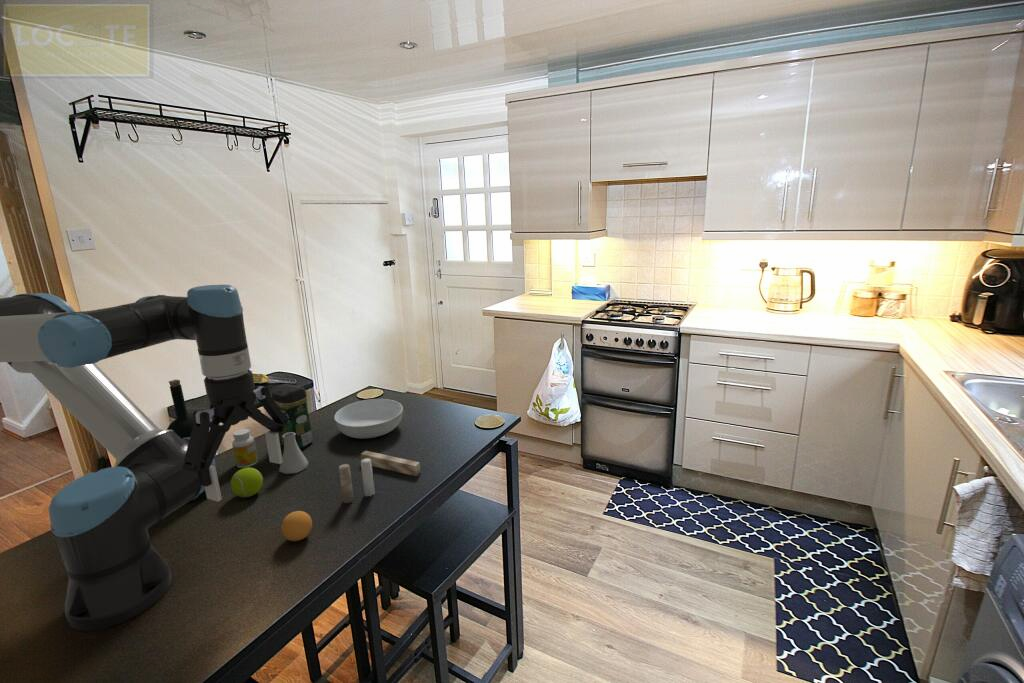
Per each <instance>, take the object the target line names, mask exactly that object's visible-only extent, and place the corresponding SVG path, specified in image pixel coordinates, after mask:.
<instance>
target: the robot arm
mask: <svg viewBox="0 0 1024 683" xmlns="http://www.w3.org/2000/svg"><path fill="white" fill-rule="evenodd" d="M186 292H187V293H186V296H176V295H174V296H171V295H166V294H157V295H147V296H143V297H141V298H138V299H137V300H136V301H135V302H131V303H126V304H125V303H124V304H119V305H117V306H111V307H105V308H100V309H94V310H86V311H76V310H75V309H74V307H73V306H71V305H70V304H69V303H68V302H67V301H65V300H64V299H62V298H61V297H59V296H57V295H54V294H50V293H45V292H38V293H37V292H36V293H19V294H15V295H12V296H8V297H0V363H7V365H9V367H11V368H12V369H13V370H14V371H16V372H17V373H21V374H32V375H33V377H35V379H36V380H37V381H38V382H39V383H41V385H43V387H44V388H45V389H46V390H47V391H48V392H49V393H50V394H51V395H52V396H53V397H54V398H55V399H56V400H57V401H58V402H59V403H60V404H61V405H62V406H63V407H64V408H65V409H66V410H67V411H68V412H69V414H71V415H72V416H73V417H74V418H75V419H76V420H77V421H78V423H80V424H81V425H82V427H84V428H85V430H87V431H88V432H89V433H90V434H91V436H93V438H94V439H96V440H97V442H99V444H100V445H101V446H102V447H103V448H104V449H105V450H106V451H108V453H109V454H111V457H112V458H114V459H115V462H114V466H110V467H106V468H105V467H104V468H101V469H99V470H98V471H96V472H93V471H92V472H88V473H86V474H84V475H81V476H80V477H77V478H76V479H73V481H71V482H69V483H67V485H65V486H64V487H62V488H61V489H60V490H59V491H58V492H57V493H55V495H54V496H53V497H52V499H51V501H50V503H49V506H48V515H49V516H48V517H49V521H50V526H49V527H50V530H51V532H52V534H54V538H55V541H56V543H57V546H58V549H59V553H60V555H61V558H62V561H63V563H64V567H65V570H66V573H67V577H68V581H67V582H68V583H67V590H66V596H65V604H64V614H65V618H66V620H67V623H69V624H68V626H70V627H71V628H72V629H74V630H75V631H76V630H77V631H81V630H82V632H87V631H88V632H89V631H90V632H92V631H98V630H103V629H107V628H108V629H109V628H111V627H113V626H116V624H117V625H119V624H122V623H123V622H126V621H129V620H130V619H133V618H135V617H136V616H138V615H140V614H141V613H144V612H145V611H146V610H148V609H149V608H151V607H152V606H153V605H154V604H156V603H158V602H159V600H160V599H161V598H162V597H163V596H164V595H165V594H166V593H167V592H168V590H169V588H170V587H171V585H172V582H173V575H172V571H171V567H170V565H169V563H168V561H166V560H165V559H164V557H163V556H162V555H161V554H160V553H159V552H158V551H157V549H156V548H155V547H154V546H153V545H152V542H151V539H150V535H149V530H148V529H149V528H151V527H152V526H153V525H154V524H157V523H158V522H159V521H161V520H163V519H165V518H166V517H167V516H169V515H170V514H172V513H173V512H174V511H177V510H178V509H180V508H181V507H182V506H184V505H185V504H187V503H189V501H190V500H193V499H195V498H196V497H197V496H198V495H199V494H200V493H202V492H203V491H206V496H207V498H206V499H207V500H210V501H214V502H218V503H219V502H220V501H222V498H223V497H222V493H221V488H220V487H221V486H220V483H219V482H220V481H219V478H218V474H217V468H216V460H215V456H216V454H217V452H218V450H219V448H220V446H221V444H222V442H223V439H224V438H225V435H226V433H227V432H229V431H230V429H231V427H232V426H236V425H237V424H239V423H240V422H242V421H243V422H244V421H246V420H249V418H251V419H252V420H254V422H257V423H258V424H260V425H261V426H263V427H264V428H266V429H267V430H266V431H265V432H264V434H265V442H266V447H267V453H268V458H269V459H268V460H269V463H273V464H279V465H281V463H283V460H282V457H283V454H282V450H281V449H282V448H281V446H283V445H282V438H281V432H283V431H284V429H285V428H284V426H283V425H286V424H287V423H288V419H287V418H286V416H285V415H284V414H283V412H282V411H281V410H280V408H279V407H278V406H277V404H276V403H275V401H274V400H273V399H272V394H271V392H270V389H269V387H267V386H261V385H255V380H254V374H253V371H252V370H251V368H252V362H251V358H250V351H249V346H248V345H249V344H248V342H247V341H248V340H247V335H246V328H245V322H244V314H243V312H244V310H243V306H242V303H241V300H240V296H239V292H238V289H237V288H236V287H235V286H233V285H230V284H206V285H200V286H199V285H198V286H195V287H192V288H189V289H188V290H187V291H186ZM173 340H184V341H185V340H187V341H195V342H196V345H197V354H198V356H199V357H198V358H199V362H200V367H201V368H200V370H201V374H202V375H203V376H204V377H205V378H204V379H203V382H204V389H205V393H206V397H207V398H208V400H209V408H208V409H204V410H194V411H193V412H192V417H193V428H192V431H191V435H190V437H187V438H183V439H181V438H180V437H179V436H178V435H177V434H176V433H175V432H174V431H173V430H167V429H160V428H159V427H158V426H157V425H156V424H155V423H154V422H153V421H152V420H151V419H150V417H149V416H147V414H145V412H143V411H142V410H141V408H139V407H138V405H136V403H134V401H133V400H132V399H131V398H129V396H128V395H127V394H126V393H125V391H123V390H122V389H121V388H120V387H119V386H118V385H117V384H116V383H115V382H114V381H113V380H112V379H111V378H110V376H108V375H107V374H106V373H105V372H104V371H103V369H101V368H100V367H99V366H98V365H97V363H98V362H100V361H103V360H106V359H109V358H110V359H111V358H113V357H116V356H119V355H124V354H127V353H130V352H134V351H138V350H141V349H146V348H148V347H149V348H150V347H152V346H155V345H159V344H162V343H166V342H170V341H173ZM256 400H257V401H258V402H259V404H260V405H261V406H262V408H264V410H265V411H266V414H265V413H264V412H263V411H262V410H260V408H258V407H257V406H255V402H256ZM267 414H268V415H269V416H268V415H267ZM220 423H221V424H220Z"/></svg>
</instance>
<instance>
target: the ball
mask: <svg viewBox="0 0 1024 683" xmlns="http://www.w3.org/2000/svg"><path fill="white" fill-rule="evenodd" d="M312 527H313V520H312V517H311V516H310V514H309V513H307V512H305V511H303V510H296V511H292V512H290V513H288V514H287V515H286V516H285V517H284V519H283V520H282V522H281V528H280V530H281V534H282V536H283V537H284V538H285V539H286V540H288V541H290V542H298V541H301V540H304V539H305V538H307V537H308V536H309V534H310V533H311V530H312V529H313V528H312Z"/></svg>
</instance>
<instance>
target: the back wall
mask: <svg viewBox="0 0 1024 683" xmlns="http://www.w3.org/2000/svg"><path fill="white" fill-rule="evenodd" d="M360 459H361V460H363V459H371V465H372V467H375V468H378V467H379V469H383V470H387V469H388V471H391V470H392V472H395V471H396V473H400V474H405V475H409V476H412V475H413V477H417V476H419V475H420V474H421V462H420V461H415V460H410V459H405V458H400V457H397V456H392V455H388V454H383V453H378V452H374V451H369V450H365V451H363V452H362V453H360ZM419 473H420V474H419Z"/></svg>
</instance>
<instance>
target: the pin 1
mask: <svg viewBox="0 0 1024 683" xmlns="http://www.w3.org/2000/svg"><path fill="white" fill-rule="evenodd" d="M338 471H339V478H340V484H341V485H340V486H341V493H342V501H343V503H344V504H349V503H352V502H353V501H354V500H355V497H354V491H353V483H352V473H351V466H350V464H349V463H343V464H340V465H339V466H338Z"/></svg>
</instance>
